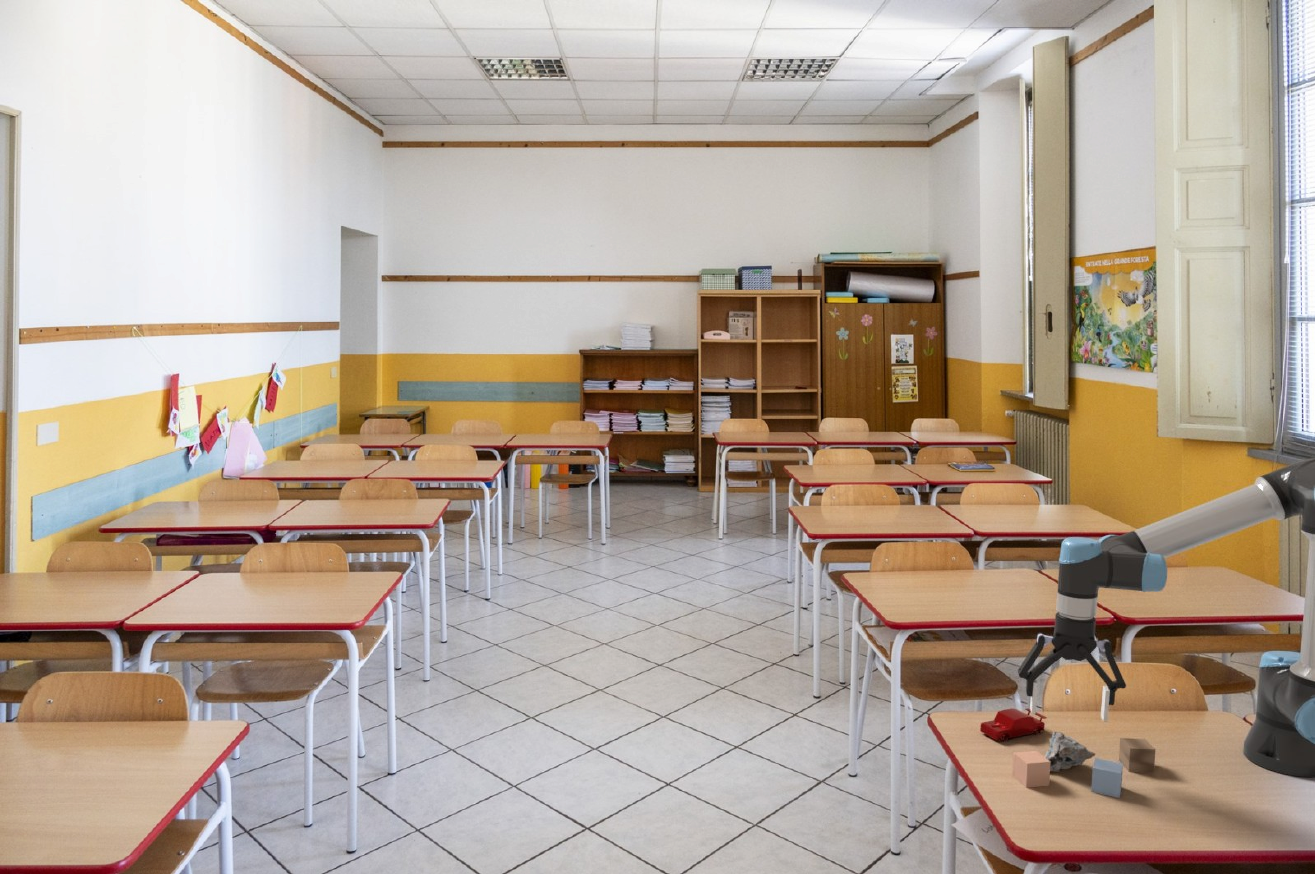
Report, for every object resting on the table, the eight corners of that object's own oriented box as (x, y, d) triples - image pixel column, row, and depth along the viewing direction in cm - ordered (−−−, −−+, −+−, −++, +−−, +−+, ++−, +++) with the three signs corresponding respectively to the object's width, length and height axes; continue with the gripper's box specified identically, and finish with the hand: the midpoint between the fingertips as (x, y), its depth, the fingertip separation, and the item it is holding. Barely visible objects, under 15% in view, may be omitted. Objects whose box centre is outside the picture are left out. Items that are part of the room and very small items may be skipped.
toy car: (1027, 725, 221) (1028, 704, 220) (1046, 734, 216) (1047, 713, 215) (979, 734, 215) (980, 713, 215) (997, 744, 210) (998, 723, 210)
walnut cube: (1143, 761, 202) (1145, 738, 202) (1153, 772, 197) (1155, 749, 197) (1118, 760, 203) (1120, 737, 202) (1128, 771, 198) (1130, 748, 197)
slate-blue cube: (1121, 787, 191) (1122, 763, 190) (1119, 798, 186) (1121, 773, 186) (1093, 781, 193) (1095, 757, 193) (1091, 791, 189) (1092, 767, 188)
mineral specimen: (1051, 784, 202) (1075, 793, 193) (1021, 757, 203) (1044, 765, 193) (1078, 748, 204) (1104, 755, 194) (1049, 721, 205) (1073, 727, 195)
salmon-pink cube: (1034, 774, 196) (1036, 750, 195) (1049, 785, 191) (1050, 761, 191) (1012, 776, 195) (1013, 752, 195) (1026, 787, 190) (1027, 763, 190)
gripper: (1138, 614, 196) (1130, 715, 199) (1008, 603, 202) (1001, 701, 205) (1147, 625, 189) (1138, 729, 192) (1012, 613, 195) (1005, 714, 198)
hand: (1068, 715), depth 198 cm, fingers open, 13 cm apart
